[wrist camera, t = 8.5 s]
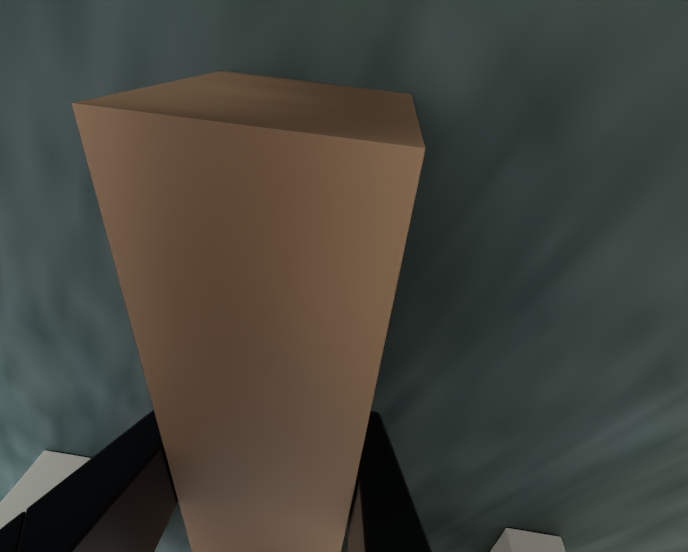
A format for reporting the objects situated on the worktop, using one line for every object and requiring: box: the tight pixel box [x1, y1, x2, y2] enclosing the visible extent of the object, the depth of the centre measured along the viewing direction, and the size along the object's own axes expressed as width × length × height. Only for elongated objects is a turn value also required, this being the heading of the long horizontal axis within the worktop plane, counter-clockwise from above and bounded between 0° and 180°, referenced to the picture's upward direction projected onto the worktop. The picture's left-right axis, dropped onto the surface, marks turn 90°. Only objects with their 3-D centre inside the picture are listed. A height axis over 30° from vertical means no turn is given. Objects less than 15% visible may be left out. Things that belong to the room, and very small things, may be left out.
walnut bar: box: [72, 71, 425, 552], centre depth 12 cm, size 4×24×4 cm, turn 174°
